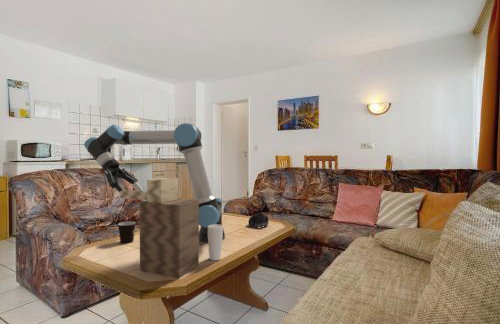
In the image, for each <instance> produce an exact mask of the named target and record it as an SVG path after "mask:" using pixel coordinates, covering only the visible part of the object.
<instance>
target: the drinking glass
mask: <svg viewBox="0 0 500 324" xmlns="http://www.w3.org/2000/svg"><path fill="white" fill-rule="evenodd" d="M223 230H224V228H223V224H222V225H218V224H214V225H209V226H208V242H207V243H208V245H207V246H208V257H209V260H210V261H213V262H214V261H219V260H221V258H222V248H223V247H222V244H223V240H222V237H223Z"/></svg>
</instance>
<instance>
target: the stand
mask: <svg viewBox="0 0 500 324" xmlns="http://www.w3.org/2000/svg"><path fill="white" fill-rule="evenodd" d="M199 226H200V225H199V200H196V199H190V198H189V199H188V198H178V199H176V200H172V201H168V202H164V203H154V202H147V200H142V201H139V272H144V273H149V274H154V275H160V276H164V277H165V276H166V277H170V278H176V279H181V278H182V277H184V276H185V275H187V274H188V273H189V272H191V271H192V270H194V269H195V268H197V267H199V263H200V260H199V259H200V257H199V255H200V253H199V251H200V249H199V248H200V247H199V245H200V244H199V243H200V240H199V230H200V227H199Z"/></svg>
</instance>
